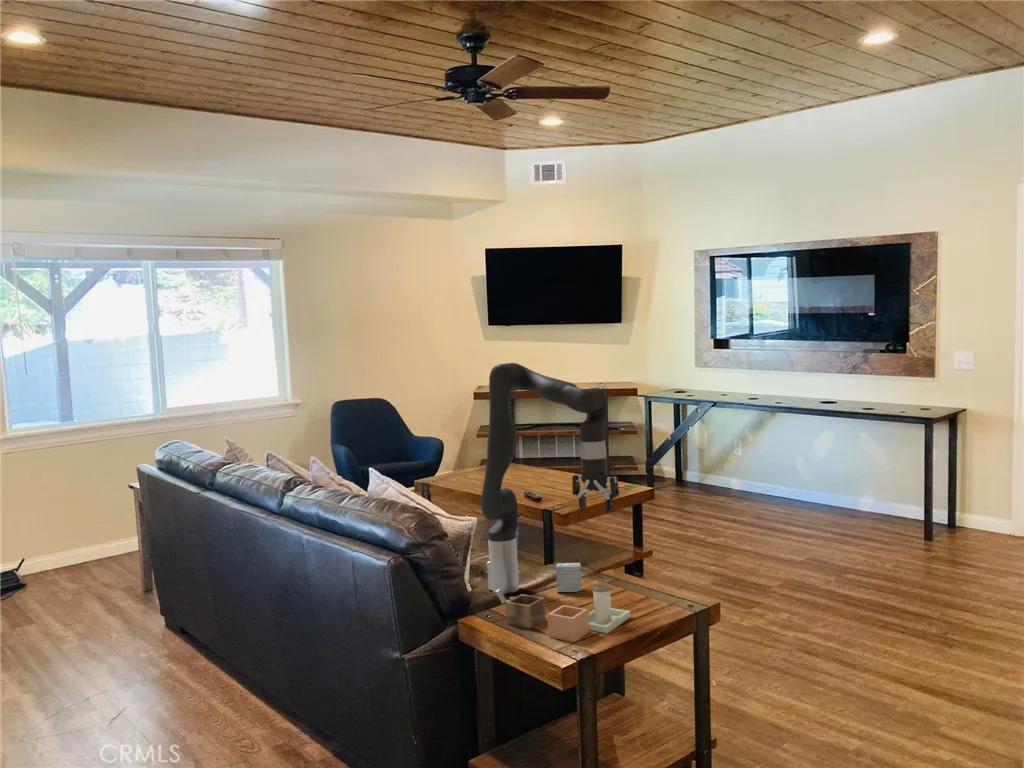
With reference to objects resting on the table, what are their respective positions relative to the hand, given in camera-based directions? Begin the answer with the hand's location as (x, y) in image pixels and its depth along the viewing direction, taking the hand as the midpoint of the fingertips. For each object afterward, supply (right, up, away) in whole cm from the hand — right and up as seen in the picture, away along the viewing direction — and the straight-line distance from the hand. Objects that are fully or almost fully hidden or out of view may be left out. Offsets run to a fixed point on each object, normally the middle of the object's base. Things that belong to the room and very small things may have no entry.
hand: (596, 510), depth 225 cm
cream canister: (+1, -29, -10) cm, 31 cm away
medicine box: (-6, -30, +21) cm, 37 cm away
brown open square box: (-21, -32, -6) cm, 38 cm away
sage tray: (+1, -30, -10) cm, 32 cm away
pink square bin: (-9, -31, -18) cm, 37 cm away
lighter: (-26, -32, +2) cm, 41 cm away
